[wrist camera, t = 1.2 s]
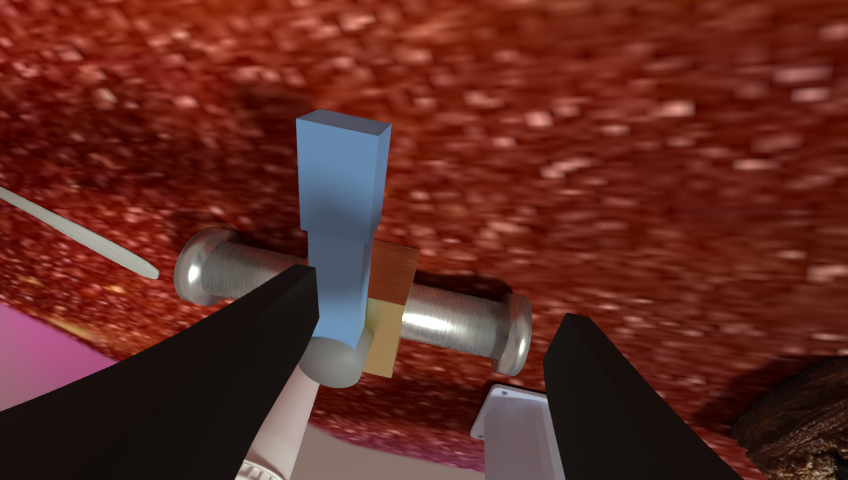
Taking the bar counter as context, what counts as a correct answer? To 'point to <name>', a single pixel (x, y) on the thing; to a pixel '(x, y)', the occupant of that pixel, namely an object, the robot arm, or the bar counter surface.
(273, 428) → the smoothie
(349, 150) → the lever
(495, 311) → the valve pipe
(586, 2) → the bar counter surface
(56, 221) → the butter knife
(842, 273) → the bar counter surface
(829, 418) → the pastry
